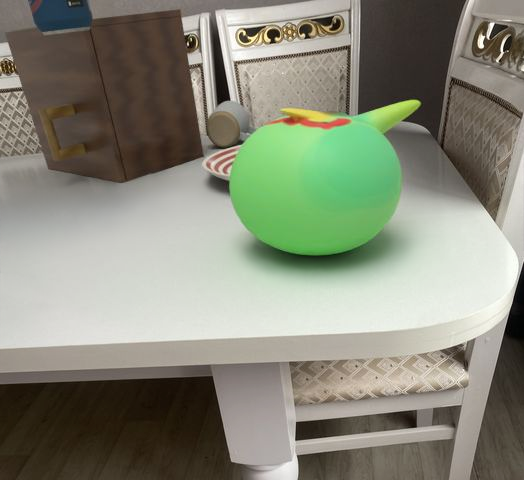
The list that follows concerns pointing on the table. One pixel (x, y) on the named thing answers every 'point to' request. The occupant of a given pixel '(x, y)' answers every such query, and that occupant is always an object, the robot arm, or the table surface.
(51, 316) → the table surface
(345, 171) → the toy bird
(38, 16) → the soda can
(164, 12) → the cupboard
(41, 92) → the cupboard door
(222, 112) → the ceramic mug
